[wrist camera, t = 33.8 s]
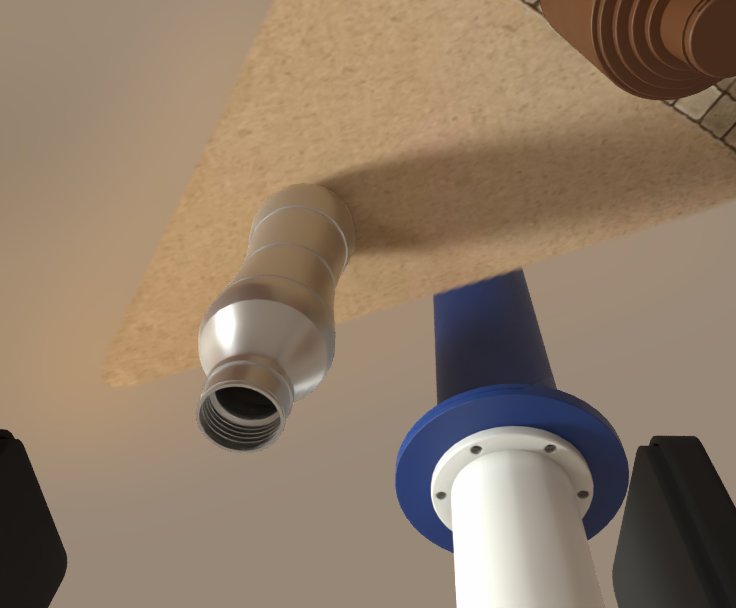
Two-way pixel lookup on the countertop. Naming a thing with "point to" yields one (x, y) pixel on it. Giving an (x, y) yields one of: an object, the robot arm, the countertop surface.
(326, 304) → the silver water bottle
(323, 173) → the countertop surface
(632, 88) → the sauce bottle
